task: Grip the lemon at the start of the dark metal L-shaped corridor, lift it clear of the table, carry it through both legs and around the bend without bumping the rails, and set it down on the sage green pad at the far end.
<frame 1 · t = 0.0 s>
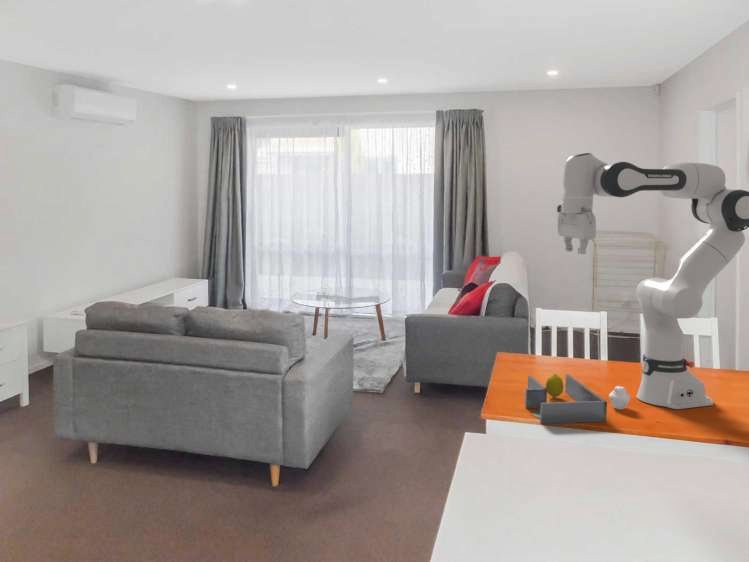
hand: (575, 252, 187), 48 cm above the table, tool pointing down, fingers open, 8 cm apart
rail corridor: (556, 406, 190), on the table
white rounded piece: (618, 408, 189), on the table
lemon: (554, 398, 198), on the table
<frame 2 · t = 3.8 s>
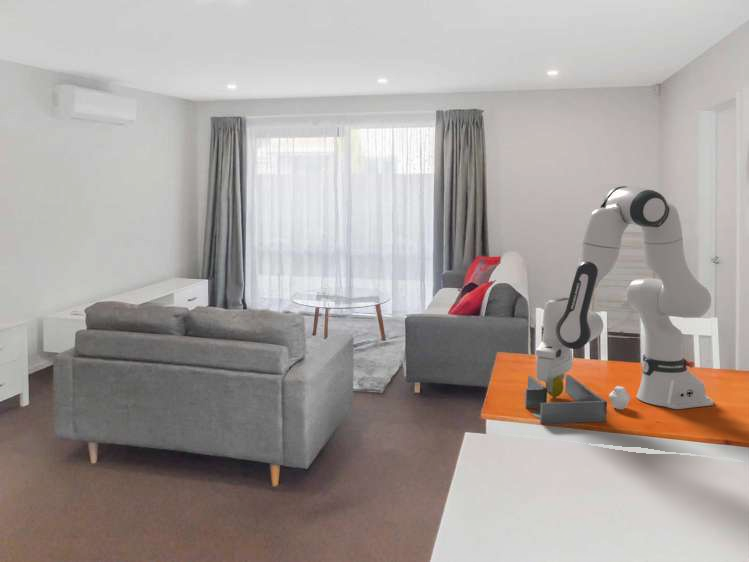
hand: (554, 388, 198), 3 cm above the table, tool pointing down, fingers closed on lemon, 5 cm apart
lemon: (554, 398, 198), on the table, touching gripper
everything else where it was.
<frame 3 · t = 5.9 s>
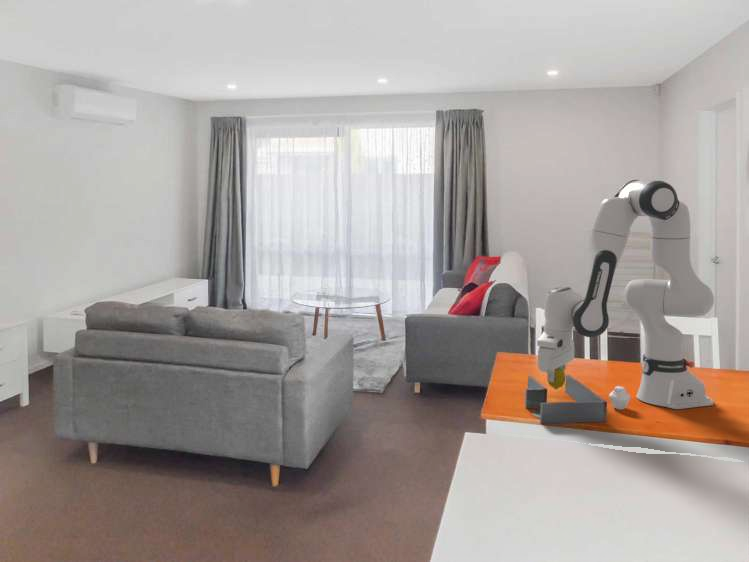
hand: (556, 379, 197), 7 cm above the table, tool pointing down, fingers closed on lemon, 5 cm apart
lemon: (555, 390, 197), point 3 cm above the table, touching gripper
everything else where it was.
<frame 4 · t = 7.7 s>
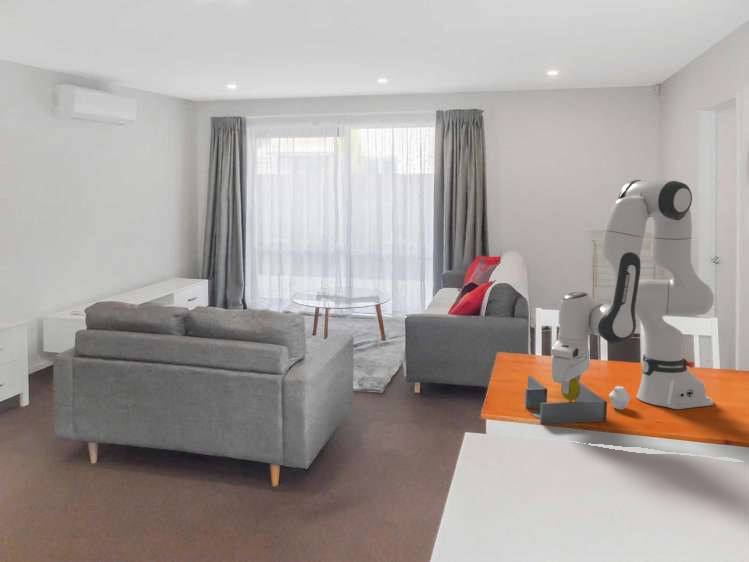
hand: (570, 390, 185), 7 cm above the table, tool pointing down, fingers closed on lemon, 5 cm apart
lemon: (570, 402, 186), point 3 cm above the table, touching gripper
everything else where it was.
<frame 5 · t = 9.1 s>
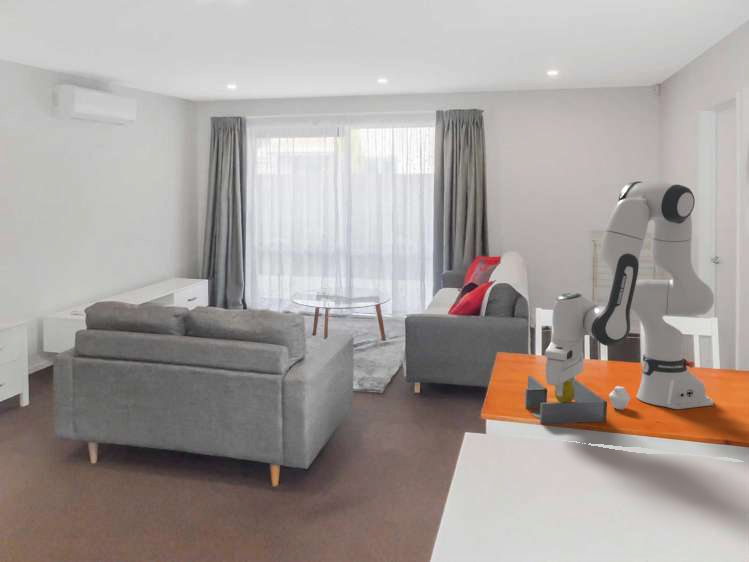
hand: (564, 393, 182), 7 cm above the table, tool pointing down, fingers closed on lemon, 5 cm apart
lemon: (564, 405, 183), point 3 cm above the table, touching gripper
everything else where it was.
when the fingers open (5 cm above the table, at t = 11.4 s): lemon stays where it is, resting on rail corridor.
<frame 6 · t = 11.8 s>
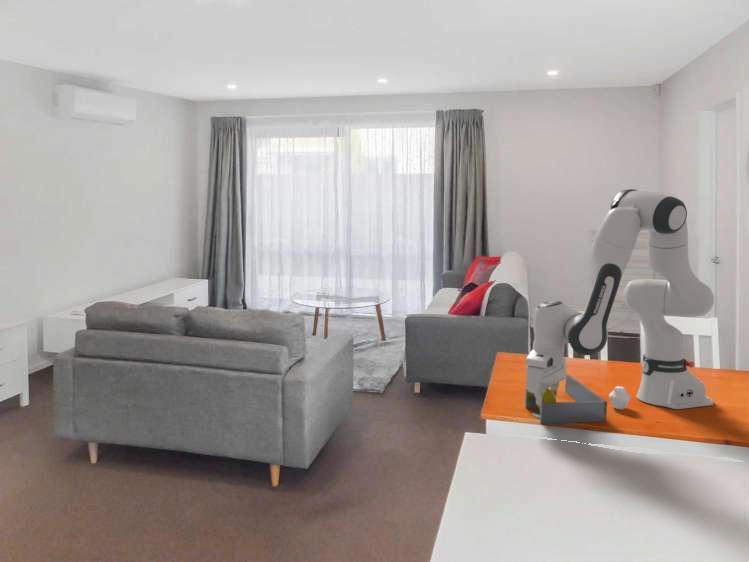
hand: (546, 400, 182), 5 cm above the table, tool pointing down, fingers open, 8 cm apart
lemon: (546, 414, 183), resting on rail corridor
everything else where it was.
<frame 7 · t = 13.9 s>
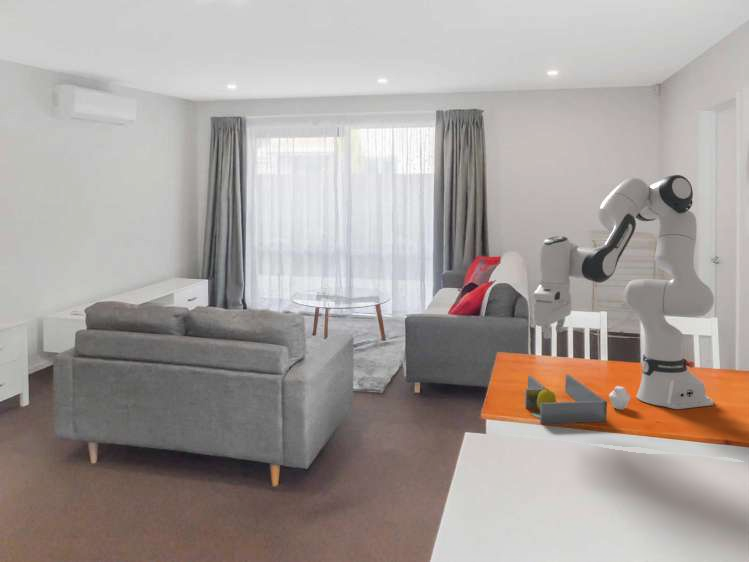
hand: (553, 334, 187), 23 cm above the table, tool pointing down, fingers open, 8 cm apart
nothing on the table moved.
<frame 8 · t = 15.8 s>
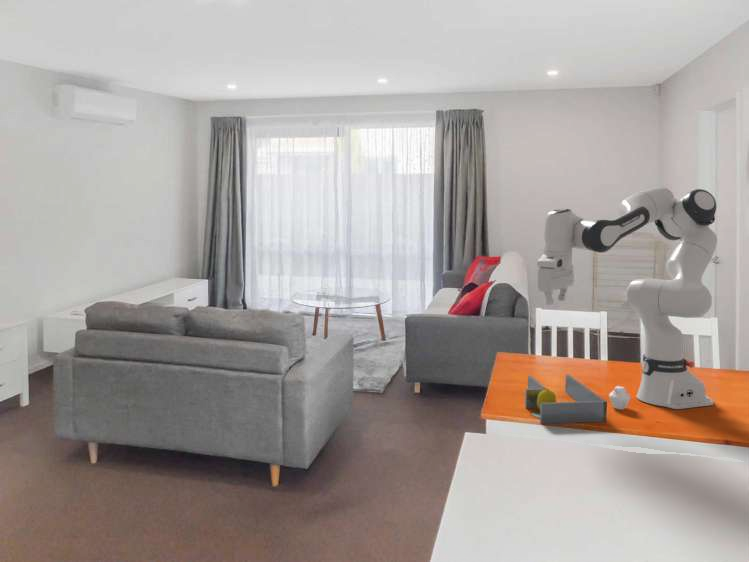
hand: (555, 302, 197), 31 cm above the table, tool pointing down, fingers open, 8 cm apart
nothing on the table moved.
at the end: lemon inside the target area (0.1 cm from its centre), resting on rail corridor; lemon tilted 0°; the gripper is holding nothing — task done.
